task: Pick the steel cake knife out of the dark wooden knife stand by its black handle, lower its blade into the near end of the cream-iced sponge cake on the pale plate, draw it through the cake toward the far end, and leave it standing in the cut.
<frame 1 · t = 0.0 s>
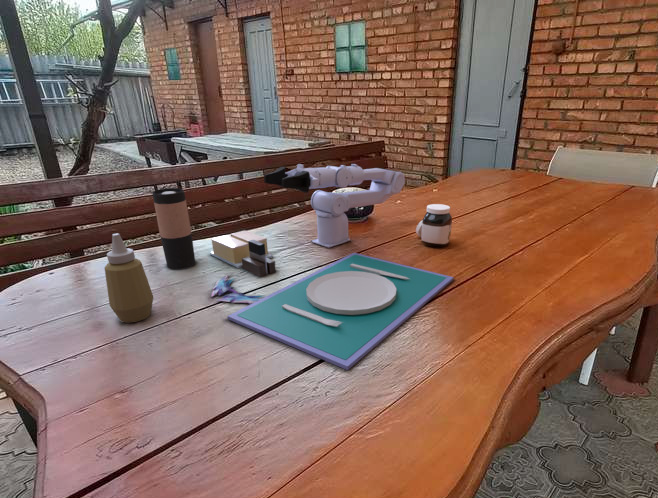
hand: (273, 181, 111), 22 cm above the table, tool horizontal, fingers open, 7 cm apart
knife stand: (259, 270, 111), on the table
decorative blades: (233, 293, 99), on the table, touching place mat
squeeze bottle: (135, 317, 89), on the table
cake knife: (259, 270, 111), resting in knife stand
place mat: (351, 298, 97), on the table, touching decorative blades
spread jar: (431, 242, 132), on the table
cake: (241, 256, 121), on the table
travel mug: (181, 265, 115), on the table
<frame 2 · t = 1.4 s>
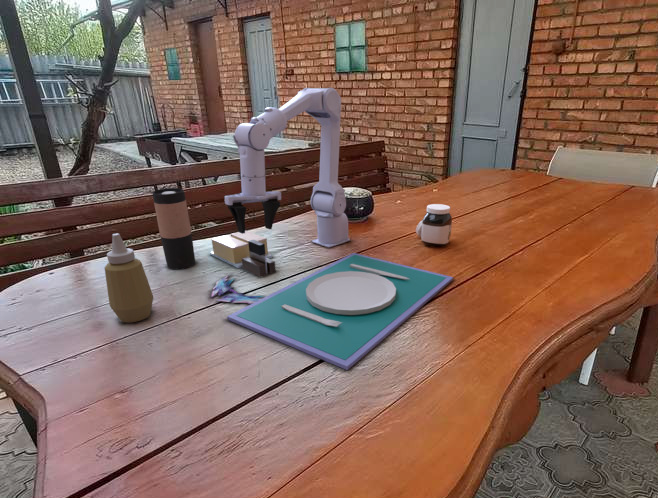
hand: (255, 230, 107), 11 cm above the table, tool pointing down, fingers open, 7 cm apart
nothing on the table moved.
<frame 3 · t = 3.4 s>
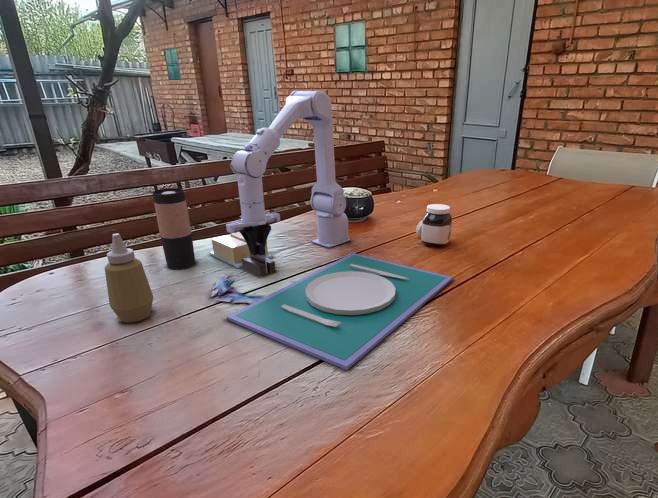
hand: (257, 253, 109), 5 cm above the table, tool pointing down, fingers closed on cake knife, 1 cm apart
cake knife: (259, 270, 111), resting in knife stand, touching gripper
everything else where it was.
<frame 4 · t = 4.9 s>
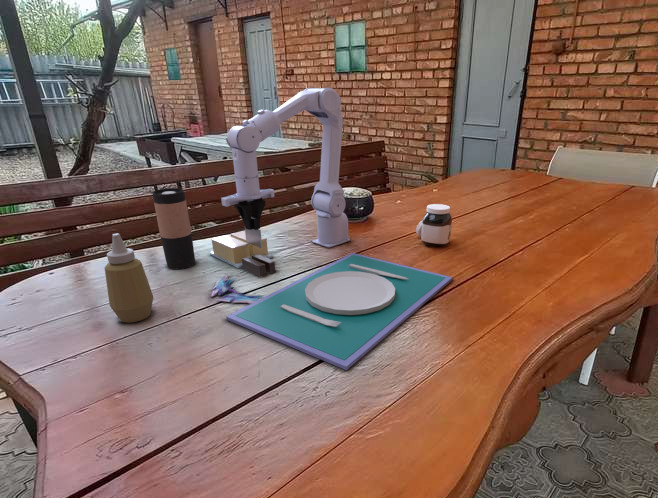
hand: (252, 228, 112), 10 cm above the table, tool pointing down, fingers closed on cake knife
decorative blades: (233, 293, 99), on the table
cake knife: (254, 245, 114), point 5 cm above the table, touching gripper
place mat: (350, 298, 96), on the table
everything else where it was.
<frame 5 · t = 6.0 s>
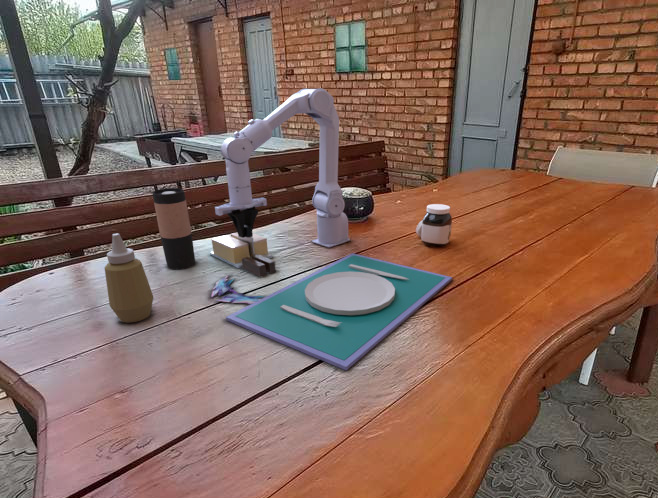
hand: (245, 235, 116), 7 cm above the table, tool pointing down, fingers closed on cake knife, 2 cm apart
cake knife: (247, 252, 118), point 2 cm above the table, touching gripper
everything else where it was.
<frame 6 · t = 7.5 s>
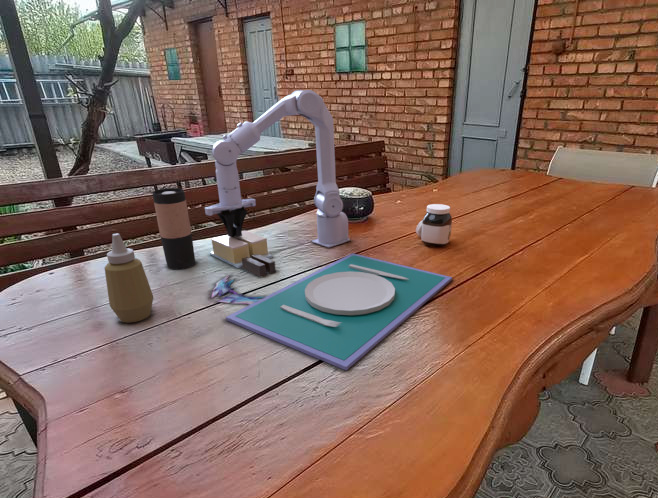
hand: (234, 235, 120), 6 cm above the table, tool pointing down, fingers closed on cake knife, 2 cm apart
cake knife: (236, 251, 122), point 1 cm above the table, touching gripper
everything else where it was.
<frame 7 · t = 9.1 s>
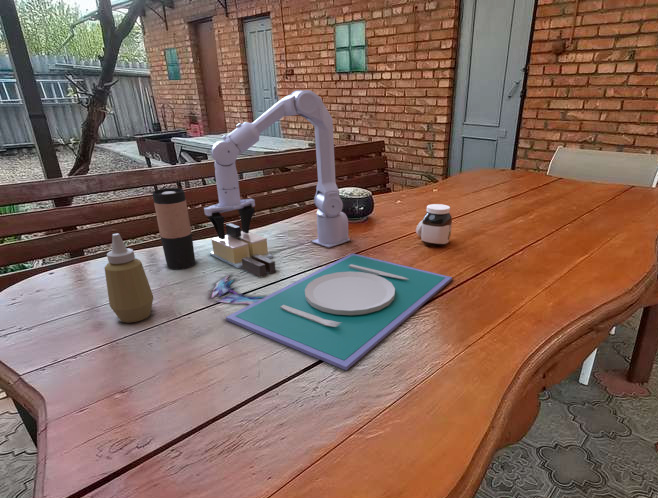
hand: (234, 235, 120), 6 cm above the table, tool pointing down, fingers open, 7 cm apart
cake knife: (236, 251, 122), point 1 cm above the table, touching cake
everything else where it was.
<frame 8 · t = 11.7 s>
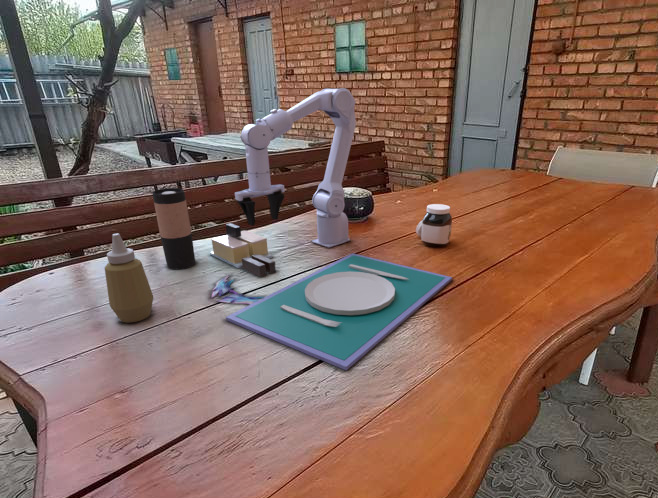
hand: (263, 221, 118), 10 cm above the table, tool pointing down, fingers open, 7 cm apart
nothing on the table moved.
at the end: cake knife 0.2 cm from the target spot on the cake, point 0.8 cm above the cake's base; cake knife moved 15.2 cm from its start; the gripper is holding nothing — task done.
